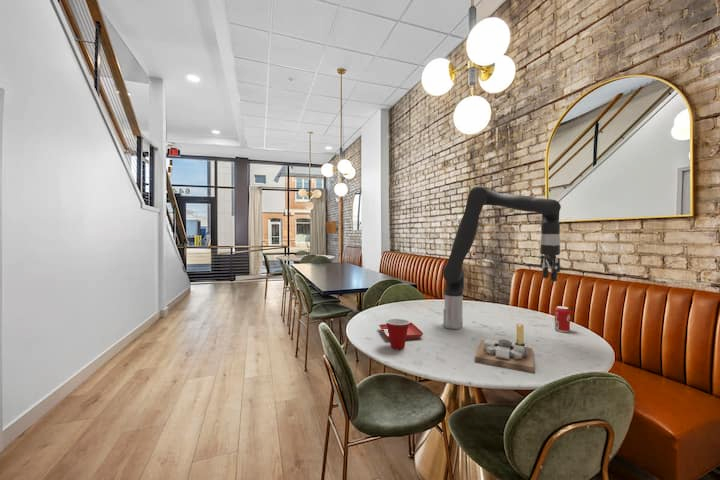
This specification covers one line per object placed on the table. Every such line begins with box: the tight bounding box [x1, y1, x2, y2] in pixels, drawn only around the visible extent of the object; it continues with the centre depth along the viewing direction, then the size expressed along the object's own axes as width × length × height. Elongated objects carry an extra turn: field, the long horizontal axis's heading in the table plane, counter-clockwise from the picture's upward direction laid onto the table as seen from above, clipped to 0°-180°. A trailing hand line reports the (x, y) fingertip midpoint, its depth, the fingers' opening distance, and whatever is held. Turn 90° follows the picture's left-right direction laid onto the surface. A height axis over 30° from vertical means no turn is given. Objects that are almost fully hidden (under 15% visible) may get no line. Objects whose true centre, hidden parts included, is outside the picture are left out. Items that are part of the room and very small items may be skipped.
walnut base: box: [474, 338, 535, 374], centre depth 121 cm, size 20×20×6 cm
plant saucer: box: [378, 321, 424, 341], centre depth 148 cm, size 18×18×3 cm
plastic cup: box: [385, 318, 411, 350], centre depth 132 cm, size 11×11×12 cm
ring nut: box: [483, 337, 527, 360], centre depth 120 cm, size 15×15×4 cm
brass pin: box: [516, 323, 525, 346], centre depth 117 cm, size 2×2×12 cm
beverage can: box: [554, 305, 571, 333], centre depth 151 cm, size 6×6×12 cm
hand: (549, 279), depth 136 cm, fingers open, 8 cm apart
